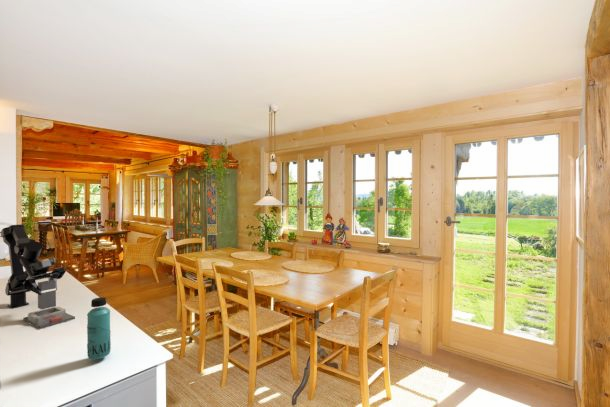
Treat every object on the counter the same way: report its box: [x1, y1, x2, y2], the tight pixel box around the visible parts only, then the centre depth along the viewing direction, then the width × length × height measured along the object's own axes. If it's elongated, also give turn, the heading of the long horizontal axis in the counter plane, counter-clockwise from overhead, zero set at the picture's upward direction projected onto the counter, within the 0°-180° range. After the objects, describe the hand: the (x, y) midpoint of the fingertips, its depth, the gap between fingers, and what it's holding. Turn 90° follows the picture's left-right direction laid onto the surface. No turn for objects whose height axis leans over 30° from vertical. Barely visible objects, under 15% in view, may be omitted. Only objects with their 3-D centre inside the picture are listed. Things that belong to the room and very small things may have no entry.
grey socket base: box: [22, 306, 76, 330], centre depth 134 cm, size 18×12×3 cm, turn 59°
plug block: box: [37, 279, 57, 310], centre depth 135 cm, size 4×5×11 cm
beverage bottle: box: [86, 296, 112, 360], centre depth 101 cm, size 6×7×20 cm
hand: (48, 292), depth 135 cm, fingers closed on plug block, 5 cm apart
